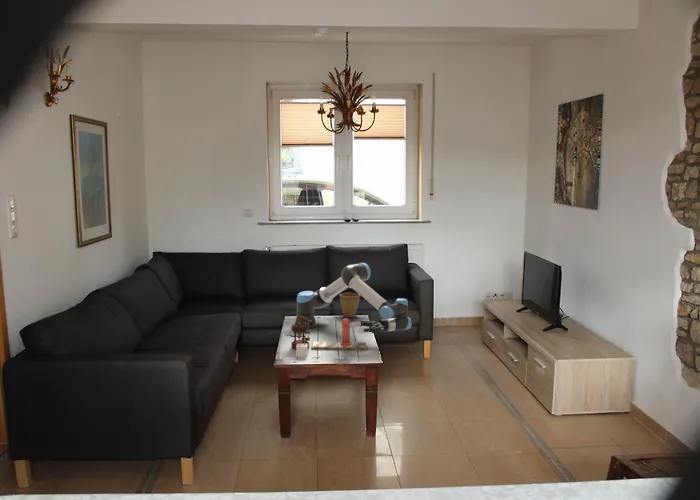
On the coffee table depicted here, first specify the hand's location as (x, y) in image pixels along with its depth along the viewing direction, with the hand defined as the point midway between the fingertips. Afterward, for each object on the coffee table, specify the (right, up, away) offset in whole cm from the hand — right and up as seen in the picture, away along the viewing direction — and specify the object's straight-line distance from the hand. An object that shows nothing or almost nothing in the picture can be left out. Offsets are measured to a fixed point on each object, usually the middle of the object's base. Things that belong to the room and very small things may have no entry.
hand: (354, 327), depth 358 cm
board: (-9, -12, 0) cm, 15 cm away
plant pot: (-3, -2, +77) cm, 77 cm away
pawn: (-5, -10, 0) cm, 11 cm away
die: (-30, -14, -16) cm, 37 cm away
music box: (-33, -12, -3) cm, 35 cm away
